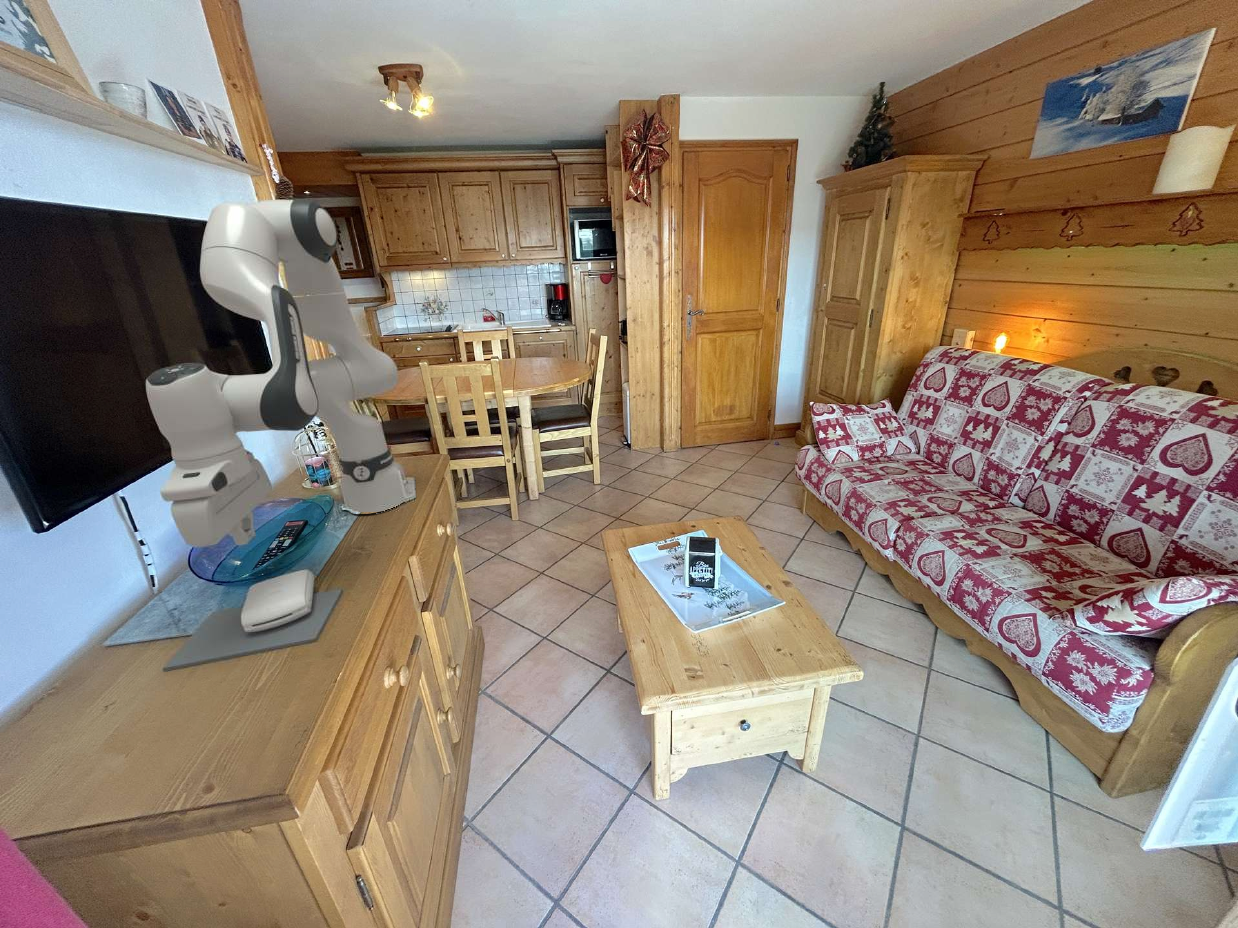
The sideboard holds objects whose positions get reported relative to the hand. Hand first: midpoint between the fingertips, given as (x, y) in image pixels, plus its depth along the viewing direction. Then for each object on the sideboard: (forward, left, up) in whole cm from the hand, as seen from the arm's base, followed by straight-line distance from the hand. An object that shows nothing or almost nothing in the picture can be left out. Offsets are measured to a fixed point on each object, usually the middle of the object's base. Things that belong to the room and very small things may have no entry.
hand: (246, 540), depth 83 cm
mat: (+6, 0, -14) cm, 15 cm away
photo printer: (-4, +1, -12) cm, 12 cm away
